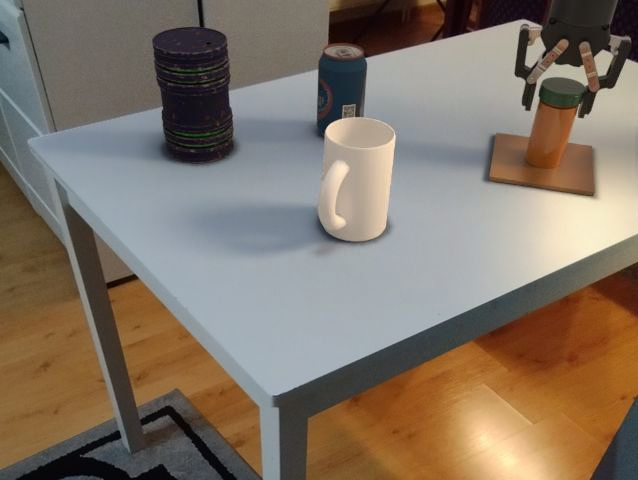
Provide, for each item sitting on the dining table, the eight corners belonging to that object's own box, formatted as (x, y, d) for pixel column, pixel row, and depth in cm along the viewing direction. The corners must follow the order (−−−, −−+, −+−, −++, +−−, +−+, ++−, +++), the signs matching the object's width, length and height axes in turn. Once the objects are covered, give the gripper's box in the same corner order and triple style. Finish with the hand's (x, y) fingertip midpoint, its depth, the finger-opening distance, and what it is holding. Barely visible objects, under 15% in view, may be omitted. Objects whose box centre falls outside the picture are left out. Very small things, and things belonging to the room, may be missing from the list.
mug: (290, 243, 81) (289, 149, 73) (340, 199, 89) (345, 110, 80) (350, 266, 78) (356, 171, 70) (397, 218, 86) (407, 128, 77)
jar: (561, 154, 98) (581, 86, 92) (561, 170, 95) (582, 101, 88) (525, 148, 99) (542, 81, 93) (523, 165, 96) (541, 96, 89)
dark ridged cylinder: (151, 153, 96) (135, 44, 86) (190, 126, 103) (179, 21, 93) (211, 169, 94) (201, 58, 83) (247, 140, 100) (242, 34, 90)
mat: (590, 149, 101) (592, 145, 101) (593, 196, 91) (595, 192, 91) (495, 136, 103) (496, 132, 103) (488, 180, 94) (489, 176, 93)
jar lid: (539, 87, 93) (542, 74, 92) (582, 92, 92) (585, 80, 91) (537, 103, 89) (540, 90, 88) (582, 109, 88) (586, 96, 87)
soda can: (310, 124, 105) (312, 43, 96) (353, 119, 106) (358, 39, 98) (324, 144, 100) (327, 61, 92) (369, 139, 102) (375, 56, 93)
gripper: (528, -21, 80) (498, 116, 91) (657, -8, 77) (610, 131, 89) (530, -37, 85) (502, 94, 96) (651, -26, 83) (607, 108, 94)
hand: (554, 112), depth 93 cm, fingers open, 6 cm apart
